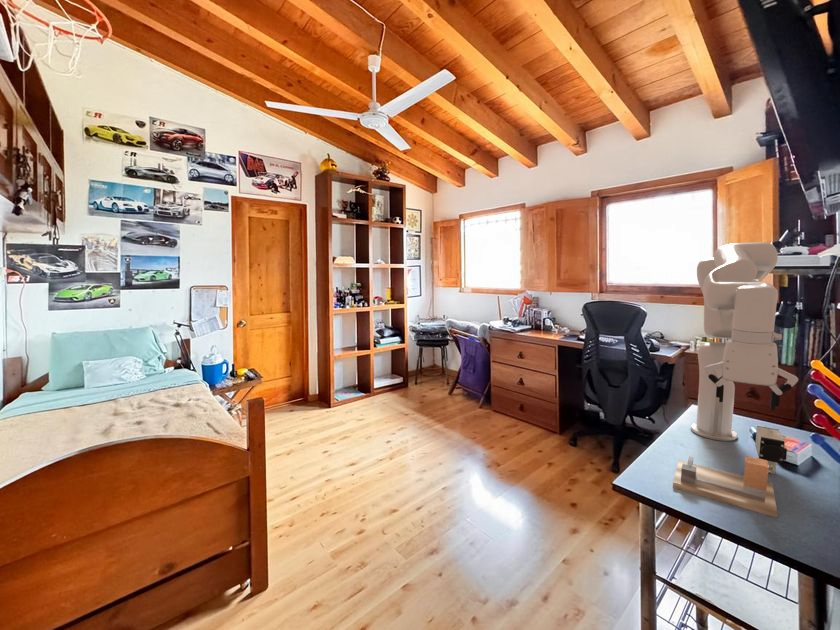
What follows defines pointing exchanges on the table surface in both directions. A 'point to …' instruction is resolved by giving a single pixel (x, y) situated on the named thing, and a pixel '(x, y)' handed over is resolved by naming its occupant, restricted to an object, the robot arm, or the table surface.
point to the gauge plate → (722, 487)
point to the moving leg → (755, 476)
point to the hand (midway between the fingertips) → (745, 404)
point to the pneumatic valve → (770, 446)
